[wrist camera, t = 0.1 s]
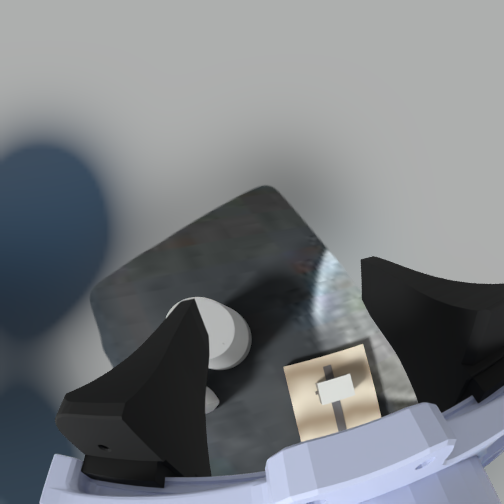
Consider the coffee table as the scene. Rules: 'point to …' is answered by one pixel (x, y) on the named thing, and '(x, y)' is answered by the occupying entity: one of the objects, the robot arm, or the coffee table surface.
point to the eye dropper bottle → (210, 400)
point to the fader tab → (335, 389)
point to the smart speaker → (223, 333)
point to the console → (339, 412)
